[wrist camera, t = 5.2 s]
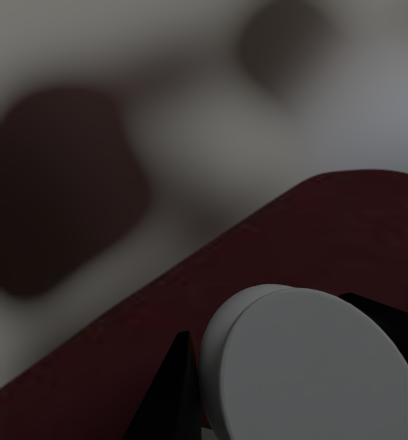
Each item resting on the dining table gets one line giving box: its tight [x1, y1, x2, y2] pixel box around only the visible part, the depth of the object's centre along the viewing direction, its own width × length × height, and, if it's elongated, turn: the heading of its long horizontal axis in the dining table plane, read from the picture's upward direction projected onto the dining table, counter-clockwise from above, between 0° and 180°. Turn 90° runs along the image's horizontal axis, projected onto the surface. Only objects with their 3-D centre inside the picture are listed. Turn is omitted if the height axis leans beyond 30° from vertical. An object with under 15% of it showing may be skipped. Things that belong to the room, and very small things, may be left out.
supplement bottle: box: [198, 284, 408, 440], centre depth 9 cm, size 5×5×10 cm
